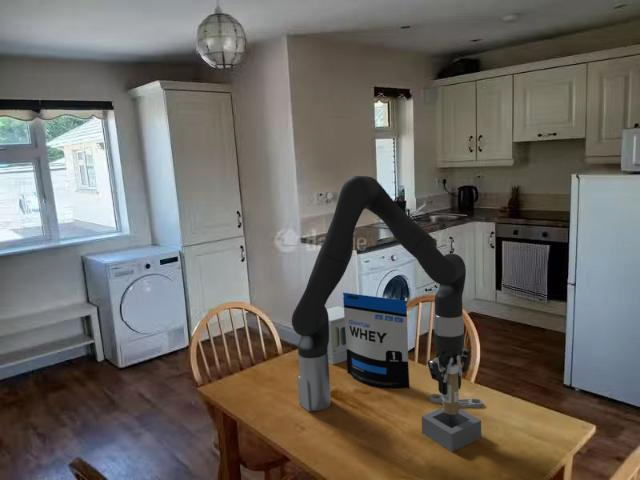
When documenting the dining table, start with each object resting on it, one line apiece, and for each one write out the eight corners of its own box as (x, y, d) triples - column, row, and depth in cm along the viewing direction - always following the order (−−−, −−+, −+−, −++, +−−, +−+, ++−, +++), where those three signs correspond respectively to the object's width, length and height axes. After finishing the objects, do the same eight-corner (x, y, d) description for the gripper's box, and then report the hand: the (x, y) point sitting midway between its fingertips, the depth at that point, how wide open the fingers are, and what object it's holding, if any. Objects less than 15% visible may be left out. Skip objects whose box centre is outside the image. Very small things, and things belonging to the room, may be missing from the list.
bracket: (437, 388, 156) (483, 399, 147) (437, 393, 156) (484, 405, 147) (427, 398, 150) (475, 410, 141) (427, 403, 150) (475, 416, 141)
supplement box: (332, 365, 181) (329, 320, 178) (313, 355, 192) (310, 312, 189) (360, 356, 188) (358, 312, 185) (340, 346, 199) (338, 305, 196)
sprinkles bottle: (462, 413, 129) (461, 366, 127) (446, 416, 128) (445, 368, 126) (454, 405, 133) (453, 359, 131) (438, 408, 132) (437, 361, 130)
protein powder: (354, 368, 178) (350, 289, 173) (415, 382, 163) (412, 297, 158) (340, 378, 170) (335, 296, 165) (403, 394, 156) (399, 305, 151)
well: (451, 452, 124) (451, 434, 123) (422, 433, 134) (421, 416, 133) (481, 437, 130) (481, 420, 129) (450, 420, 139) (450, 404, 138)
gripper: (457, 320, 134) (458, 378, 136) (418, 332, 126) (420, 393, 129) (479, 327, 127) (479, 388, 130) (439, 340, 120) (440, 404, 123)
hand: (449, 390), depth 130 cm, fingers closed on sprinkles bottle, 4 cm apart
